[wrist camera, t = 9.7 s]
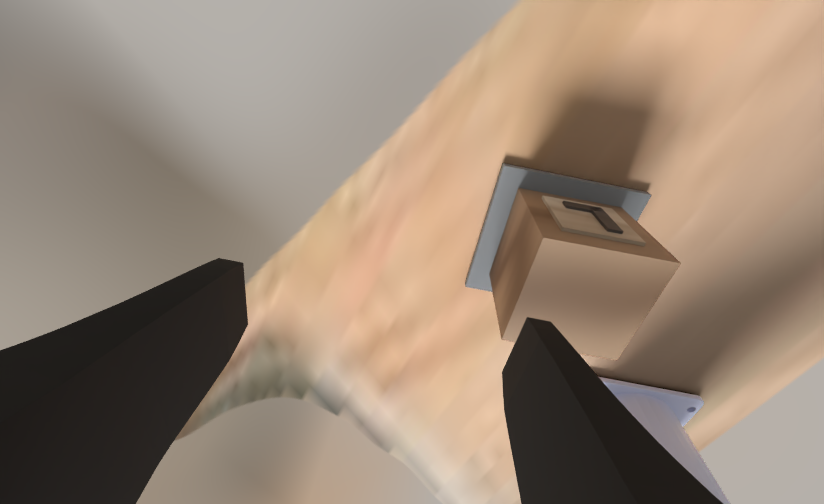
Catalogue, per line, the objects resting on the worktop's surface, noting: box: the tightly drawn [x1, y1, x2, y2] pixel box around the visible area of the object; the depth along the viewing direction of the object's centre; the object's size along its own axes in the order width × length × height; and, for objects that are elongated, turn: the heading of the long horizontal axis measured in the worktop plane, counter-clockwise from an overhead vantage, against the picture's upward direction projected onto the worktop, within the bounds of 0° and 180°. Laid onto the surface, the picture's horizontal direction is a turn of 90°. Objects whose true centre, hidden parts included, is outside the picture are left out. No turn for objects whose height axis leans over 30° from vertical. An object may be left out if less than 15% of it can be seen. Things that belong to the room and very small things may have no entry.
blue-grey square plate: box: [465, 163, 651, 292], centre depth 19 cm, size 7×7×1 cm
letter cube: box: [489, 188, 681, 361], centre depth 16 cm, size 5×5×5 cm
